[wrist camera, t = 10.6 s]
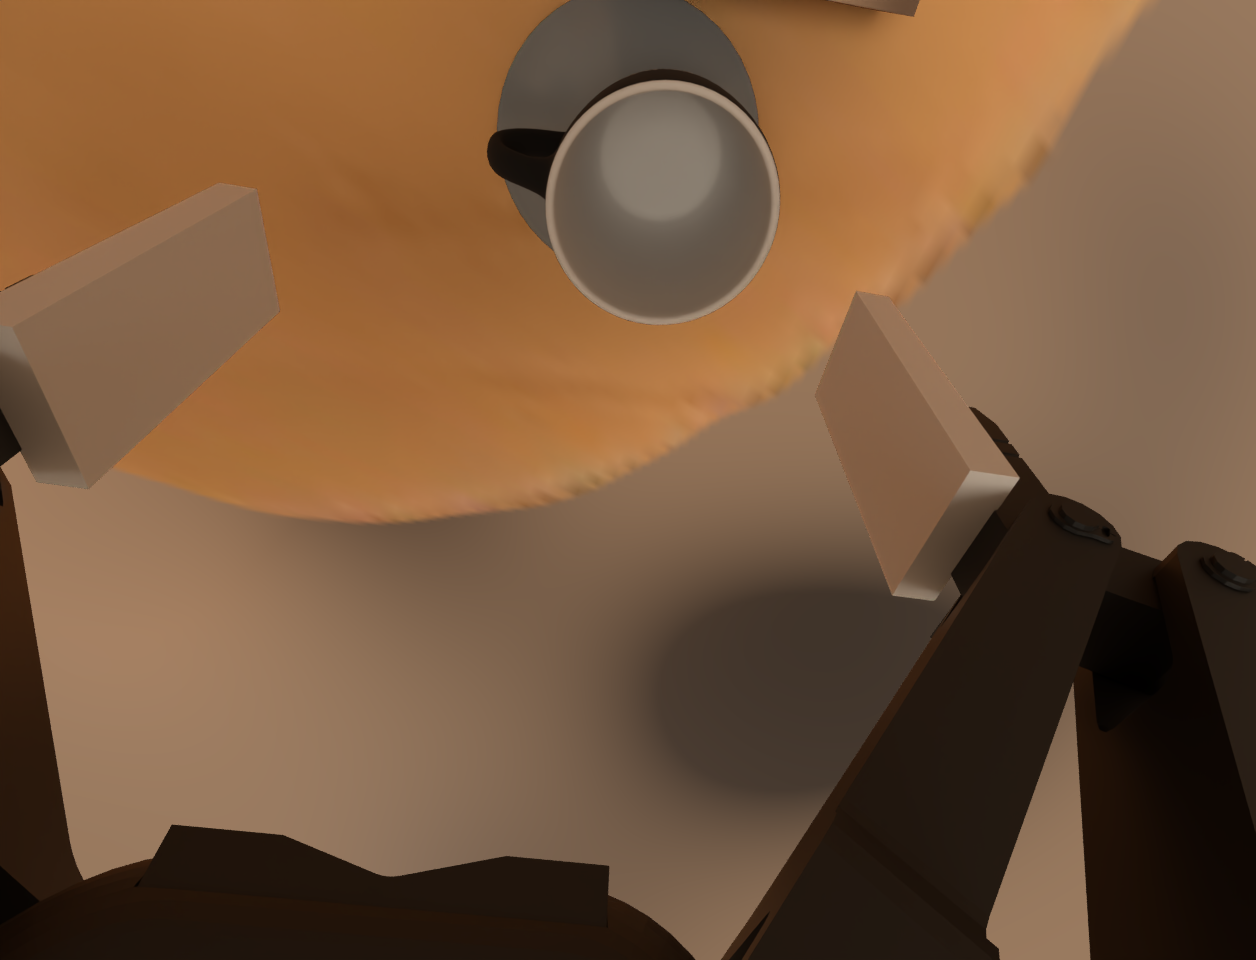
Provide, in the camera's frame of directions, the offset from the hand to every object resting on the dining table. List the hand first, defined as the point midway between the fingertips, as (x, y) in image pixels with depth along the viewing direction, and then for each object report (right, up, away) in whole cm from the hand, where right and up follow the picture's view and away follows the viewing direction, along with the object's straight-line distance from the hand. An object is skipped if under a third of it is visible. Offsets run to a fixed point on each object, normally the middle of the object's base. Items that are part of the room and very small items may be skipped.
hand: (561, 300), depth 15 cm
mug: (+2, +13, +18) cm, 22 cm away
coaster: (+2, +13, +18) cm, 22 cm away
